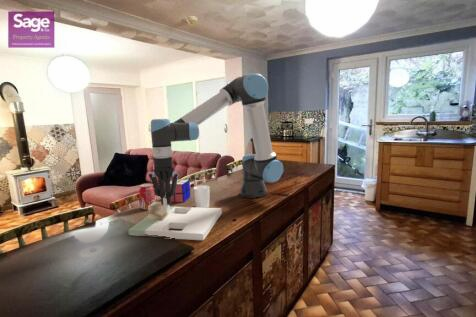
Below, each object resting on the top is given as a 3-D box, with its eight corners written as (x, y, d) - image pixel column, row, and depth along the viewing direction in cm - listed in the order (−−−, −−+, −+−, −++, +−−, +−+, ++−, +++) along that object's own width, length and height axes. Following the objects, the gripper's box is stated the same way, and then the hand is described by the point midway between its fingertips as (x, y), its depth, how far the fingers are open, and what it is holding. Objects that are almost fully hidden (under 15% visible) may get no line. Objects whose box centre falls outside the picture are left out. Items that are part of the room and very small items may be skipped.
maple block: (168, 215, 114) (167, 201, 113) (162, 220, 108) (161, 206, 107) (156, 214, 115) (154, 201, 114) (149, 219, 109) (147, 206, 108)
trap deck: (221, 213, 121) (221, 208, 120) (203, 240, 94) (203, 233, 94) (161, 211, 126) (161, 206, 126) (128, 236, 100) (128, 229, 100)
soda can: (143, 206, 134) (140, 183, 133) (156, 205, 135) (155, 182, 133) (139, 210, 127) (136, 187, 126) (153, 210, 128) (151, 186, 126)
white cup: (212, 204, 134) (212, 185, 132) (206, 209, 126) (205, 189, 125) (199, 203, 136) (198, 184, 135) (191, 208, 129) (190, 188, 127)
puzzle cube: (183, 202, 138) (182, 184, 137) (166, 202, 140) (164, 184, 139) (190, 197, 148) (189, 179, 146) (174, 196, 150) (173, 179, 148)
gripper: (143, 158, 104) (148, 214, 108) (173, 158, 102) (177, 215, 105) (152, 155, 112) (157, 208, 115) (181, 155, 109) (184, 209, 113)
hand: (166, 211), depth 110 cm, fingers closed
